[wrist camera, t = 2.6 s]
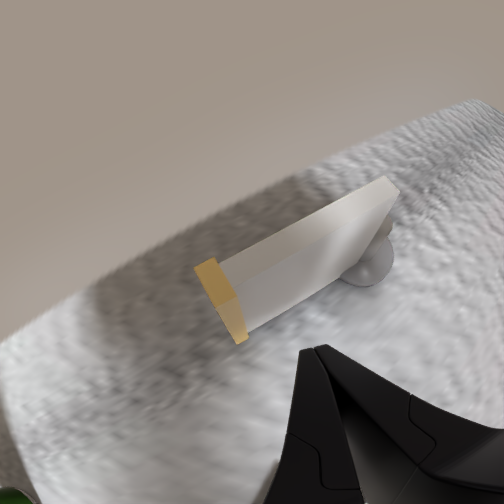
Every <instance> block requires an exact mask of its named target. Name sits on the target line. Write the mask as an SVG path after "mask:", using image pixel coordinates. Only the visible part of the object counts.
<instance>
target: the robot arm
mask: <svg viewBox="0 0 504 504" xmlns="http://www.w3.org/2000/svg"><path fill="white" fill-rule="evenodd" d="M359 484H360V485H359ZM360 486H361V489H362V491H363V493H364V495H365V497H366V499H367V502H368V504H504V429H497V428H491V427H487V426H484V425H481V424H478V423H476V422H473V421H470V420H468V419H465V418H462V417H460V416H457V415H454V414H452V413H449V412H447V411H445V410H442V409H440V408H438V407H436V406H434V405H432V404H430V403H428V402H426V401H424V400H422V399H420V398H418V397H416V396H415V395H413V394H411V395H410V393H409V392H407V391H406V390H404V389H402V388H400V387H399V386H397V385H395V384H393V383H392V382H390V381H388V380H386V379H385V378H383V377H381V376H379V375H378V374H376V373H374V372H373V371H371V370H369V369H368V368H366V367H364V366H362V365H361V364H359V363H357V362H356V361H354V360H352V359H351V358H349V357H347V356H346V355H344V354H342V353H341V352H339V351H337V350H336V349H334V348H332V347H331V346H329V345H327V344H324V345H320V346H316V347H314V349H313V348H307V349H303V350H300V351H299V357H298V364H297V371H296V378H295V384H294V391H293V397H292V403H291V409H290V415H289V421H288V426H287V434H286V436H285V442H284V446H283V451H282V455H281V459H280V462H279V465H278V468H277V471H276V473H275V476H274V479H273V481H272V484H271V486H270V488H269V491H268V493H267V495H266V498H265V500H264V502H263V504H365V502H364V499H363V496H362V493H361V490H360Z"/></svg>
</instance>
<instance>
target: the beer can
mask: <svg viewBox="0 0 504 504" xmlns="http://www.w3.org/2000/svg"><path fill="white" fill-rule="evenodd" d="M0 504H38V503H37V502H36V501H35V500H34V499H33V498H32V497H31V496H30V495H29V494H27V493H26V492H24V491H22V490H20V489H17V488H14V487H2V488H0Z"/></svg>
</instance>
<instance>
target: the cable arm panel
mask: <svg viewBox="0 0 504 504" xmlns="http://www.w3.org/2000/svg"><path fill="white" fill-rule="evenodd" d="M399 193H400V191H399V190H398V189H397V188H396V187H395V186H394V185H393V184H392V183H391V182H390V180H389V179H388V178H387V177H386V176H385V175H384V176H382V177H380V178H378V179H377V180H375V181H373V182H371V183H369V184H367V185H365V186H363V187H361V188H359V189H357V190H356V191H354V192H352V193H350V194H348V195H346V196H344V197H342V198H340V199H339V200H337V201H335V202H333V203H331V204H329V205H327V206H325V207H323V208H322V209H320V210H318V211H316V212H314V213H312V214H310V215H308V216H306V217H305V218H303V219H301V220H299V221H297V222H295V223H293V224H291V225H289V226H288V227H286V228H284V229H282V230H280V231H278V232H276V233H274V234H273V235H271V236H269V237H267V238H265V239H263V240H261V241H259V242H258V243H256V244H254V245H252V246H250V247H248V248H246V249H244V250H243V251H241V252H239V253H237V254H235V255H233V256H231V257H230V258H228V259H226V260H224V261H222V262H220V263H218V262H217V261H216V259H215V257H212V258H211V259H209V260H207V261H205V262H203V263H201V264H199V265H198V266H196V267H194V270H195V272H196V274H197V276H198V278H199V280H200V281H201V283H202V285H203V287H204V289H205V291H206V293H207V294H208V296H209V298H210V300H211V302H212V303H213V305H214V307H215V309H216V311H217V312H218V314H219V316H220V317H221V319H222V321H223V322H224V324H225V326H226V327H227V329H228V331H229V332H230V334H231V336H232V337H233V339H234V341H235V342H236V344H237V345H238V344H239V343H241V342H243V341H245V340H247V339H248V338H249V335H248V332H250V331H252V330H254V329H255V328H257V327H259V326H261V325H262V324H264V323H266V322H268V321H269V320H271V319H273V318H274V317H276V316H278V315H280V314H281V313H283V312H285V311H286V310H288V309H290V308H291V307H293V306H294V305H296V304H298V303H299V302H301V301H303V300H304V299H306V298H308V297H309V296H311V295H312V294H314V293H316V292H317V291H319V290H320V289H322V288H323V287H325V286H327V285H328V284H330V283H331V282H333V281H334V280H336V279H338V278H340V279H342V280H343V281H345V282H346V283H348V284H351V285H354V286H358V287H368V286H372V285H374V284H377V283H378V282H380V281H381V280H382V279H383V278H384V277H385V276H386V275H387V274H388V272H389V271H390V269H391V267H392V265H393V260H394V252H393V247H392V244H391V242H390V240H389V238H388V237H387V236H388V235H389V233H390V232H391V230H392V227H393V223H392V220H391V218H390V217H389V216H388V215H387V214H388V212H389V210H390V209H391V207H392V205H393V204H394V202H395V200H396V198H397V197H398V195H399Z"/></svg>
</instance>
